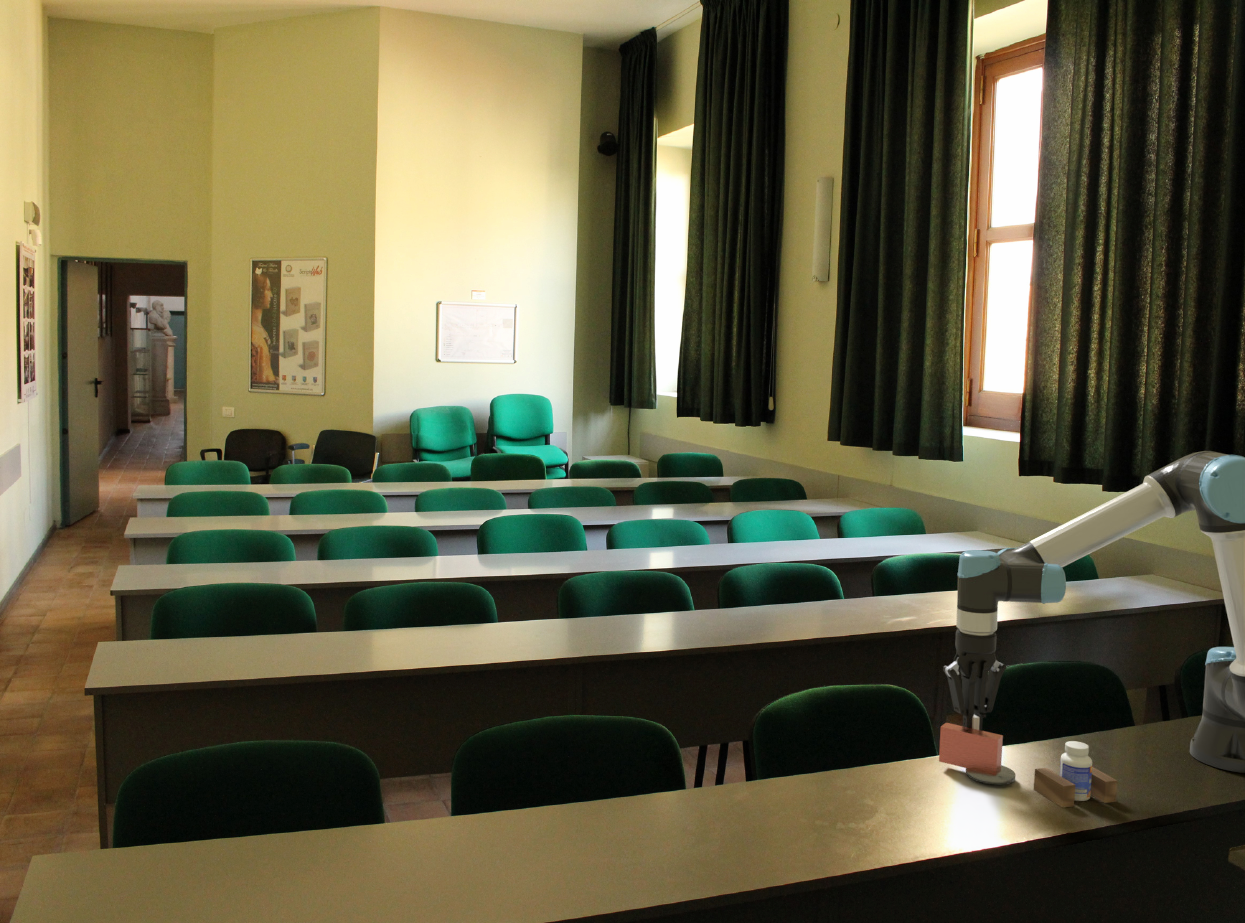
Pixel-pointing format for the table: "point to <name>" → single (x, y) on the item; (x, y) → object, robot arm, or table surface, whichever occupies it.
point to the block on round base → (975, 753)
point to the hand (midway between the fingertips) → (971, 747)
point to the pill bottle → (1077, 768)
